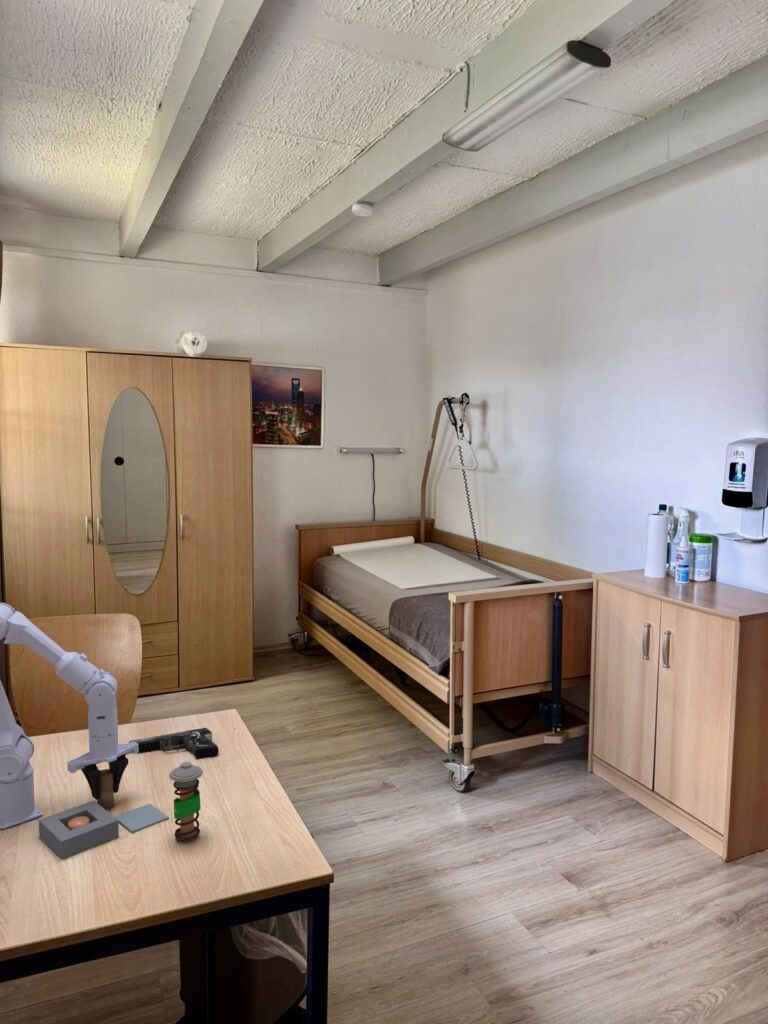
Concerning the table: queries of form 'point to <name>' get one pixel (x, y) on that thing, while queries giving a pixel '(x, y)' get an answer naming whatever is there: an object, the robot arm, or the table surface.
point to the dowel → (106, 789)
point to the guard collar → (78, 829)
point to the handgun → (182, 743)
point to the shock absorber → (186, 800)
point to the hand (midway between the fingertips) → (105, 794)
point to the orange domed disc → (77, 822)
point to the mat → (141, 818)
